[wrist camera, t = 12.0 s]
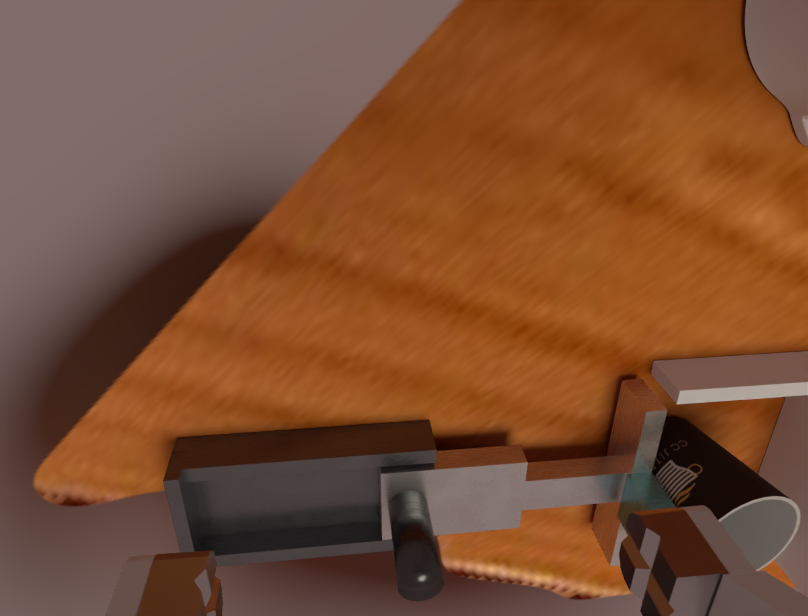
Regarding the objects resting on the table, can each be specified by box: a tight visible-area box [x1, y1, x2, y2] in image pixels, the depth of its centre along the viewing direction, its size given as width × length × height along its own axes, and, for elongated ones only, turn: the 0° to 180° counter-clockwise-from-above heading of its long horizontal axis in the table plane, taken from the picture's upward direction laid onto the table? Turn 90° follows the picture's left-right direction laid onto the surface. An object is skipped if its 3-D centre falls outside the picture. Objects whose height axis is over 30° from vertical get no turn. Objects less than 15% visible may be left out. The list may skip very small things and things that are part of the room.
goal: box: [651, 351, 808, 597], centre depth 48 cm, size 14×18×10 cm
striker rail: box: [163, 420, 437, 567], centre depth 47 cm, size 19×10×4 cm, turn 90°
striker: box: [379, 379, 676, 601], centre depth 43 cm, size 21×16×15 cm
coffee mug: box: [652, 417, 801, 571], centre depth 47 cm, size 12×9×10 cm
